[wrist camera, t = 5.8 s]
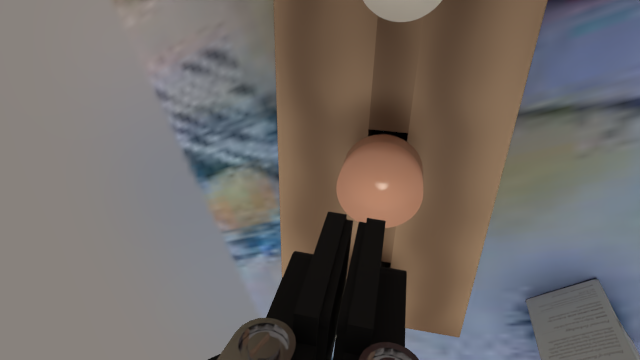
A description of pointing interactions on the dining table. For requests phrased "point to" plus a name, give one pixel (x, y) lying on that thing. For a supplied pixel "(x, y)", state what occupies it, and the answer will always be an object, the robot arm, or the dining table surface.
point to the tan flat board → (403, 128)
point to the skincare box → (579, 325)
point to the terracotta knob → (381, 180)
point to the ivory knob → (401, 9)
